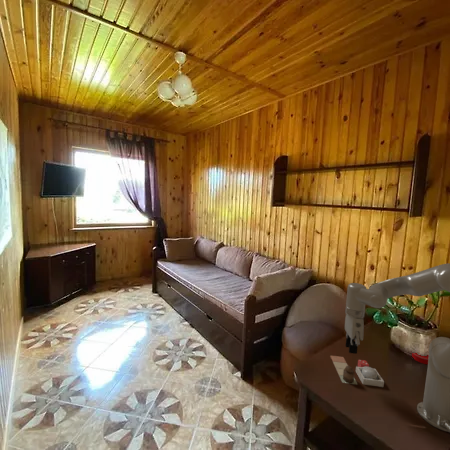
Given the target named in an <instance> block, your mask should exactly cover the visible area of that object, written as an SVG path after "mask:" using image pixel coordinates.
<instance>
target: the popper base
mask: <svg viewBox="0 0 450 450" xmlns="http://www.w3.org/2000/svg"><path fill="white" fill-rule="evenodd" d="M365 366H367V367H370V364H369V363H368V361H367V360H364V359H358V360H357V365H356V366H355V373H356V374H357V376H358V378H359V380H360V382H361V383H362V385H366V386H371V387H372V386H373V387H379V388H384V385H385V381H384V379H383V377H381V375H380V374H379V372H378V371H377V369H376V368H374V369H375V370H376V371H377V380H376V379H368V378H364V376H363V374H362V368H363V367H365Z"/></svg>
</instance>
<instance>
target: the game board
mask: <svg viewBox="0 0 450 450" xmlns="http://www.w3.org/2000/svg"><path fill="white" fill-rule="evenodd" d="M330 359H331V360H332V363H333V365H334V367H335V370H336V372H337V374H338V376H339V378H340V381H341V383H343V384H351V385H356V386H357V385H359V384H358V382H357V381H356V379H355V377H354V382H353V383H347V382H345V381H344V380H343V372H344V369H345V367H346V366H349V364H348V363H347V361H346V359H345V358H344V356H337V355H330Z"/></svg>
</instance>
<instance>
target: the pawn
mask: <svg viewBox="0 0 450 450" xmlns="http://www.w3.org/2000/svg"><path fill="white" fill-rule="evenodd" d="M342 376H343V380H344V381H345V382H347V383H346V384H349V383H353V382H354V378H355V372H354V369H353V367H352V366H350V365H348V366H346V367H345V369H344V372H343V375H342Z"/></svg>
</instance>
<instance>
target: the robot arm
mask: <svg viewBox="0 0 450 450" xmlns="http://www.w3.org/2000/svg"><path fill="white" fill-rule="evenodd" d="M441 291H446V292H448V293H450V263H442V264H439V265H435V266H433V267H430V268H429V267H428V268H426V269H423V270H419V271H417V272H414V273H411V274H408V275H402V276H397V277H393V278H389V279H386V280H383V281H379V282H377V283H374V284H372V285H371V286H370V287H368V288H367V287H366V286H365V285H363V284H362V283H358V282H357V283H356V282H350V283H349V284H347V289H346V292H347V293H346V301H345V311H344V313H345V318H344V330H345V332H346V334H345V348H348V353H349V354H355V355H356V354H358V347H359V345H361V344H360V343H361V342H360V341H363V340H364V334H365V333H364V330H365V329H364V328H365V325H364V318H365V312H366V306H368V307H371V308H374V309H382V308H384V307H386V305H387V303H388V299H391V298H394V297H397V296H405V295H407V296H408V295H409V296H412V297H413V296H414V297H423V296H425V295H429V294H430V295H431V294H433V293H437V292H441ZM428 352H429V358H428V365H427V371H426V377H425V385H424V391H423V392H424V393H423V401H421V402H419V403H418V404H417V406H416V411H417V413H418V414H419V416H420V417H421V418H422V419H424V421H426V422H427V423H428V424H429V425H431V426H432V427H434V428H436V429H439V430H440V431H444V432H448V433H450V338H449V337H445V336H439V337H435V338H433V340H431V341H430V343H429V347H428Z"/></svg>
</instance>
